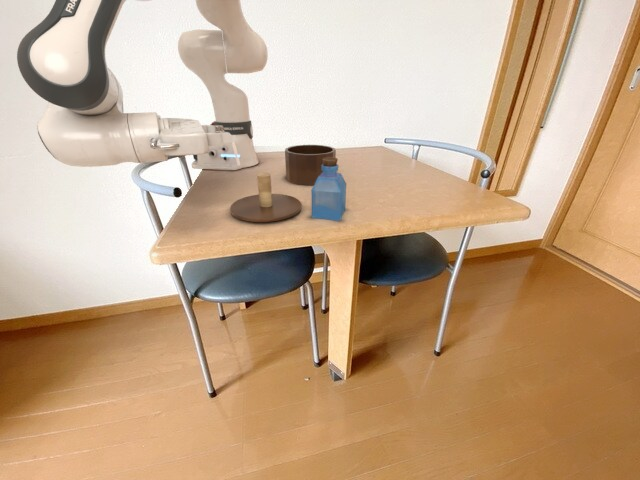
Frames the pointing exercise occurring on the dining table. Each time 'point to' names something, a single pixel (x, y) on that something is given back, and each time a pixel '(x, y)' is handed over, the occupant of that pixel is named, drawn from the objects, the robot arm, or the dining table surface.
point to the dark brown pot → (306, 162)
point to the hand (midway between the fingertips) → (227, 133)
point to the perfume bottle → (329, 192)
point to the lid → (265, 204)
